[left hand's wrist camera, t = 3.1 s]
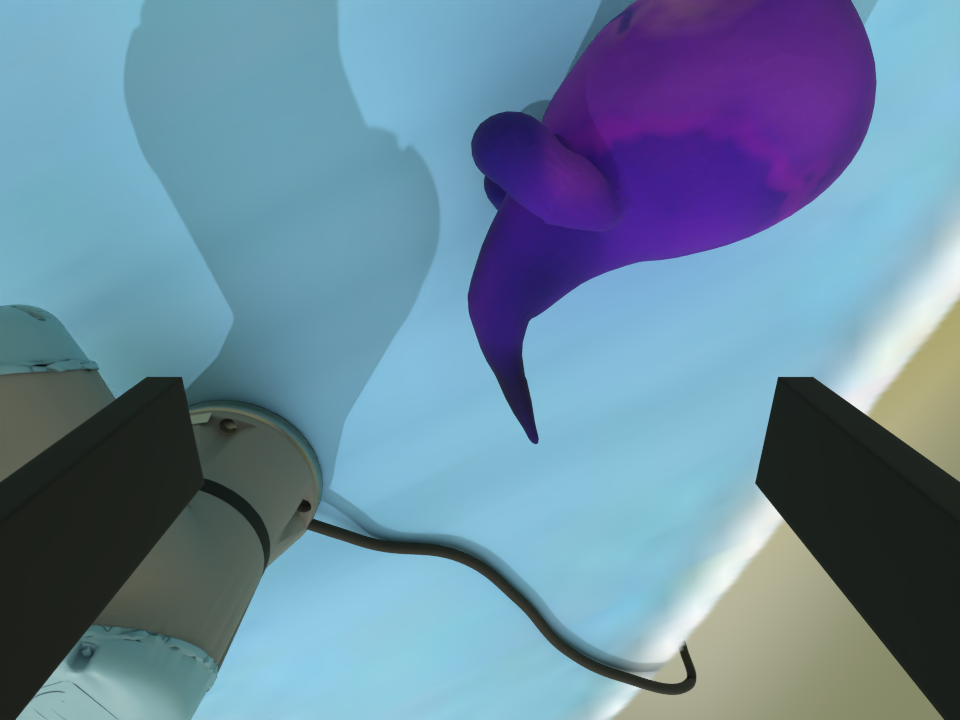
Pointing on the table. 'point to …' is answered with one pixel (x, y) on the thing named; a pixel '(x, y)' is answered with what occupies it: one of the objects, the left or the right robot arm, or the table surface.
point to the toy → (663, 152)
